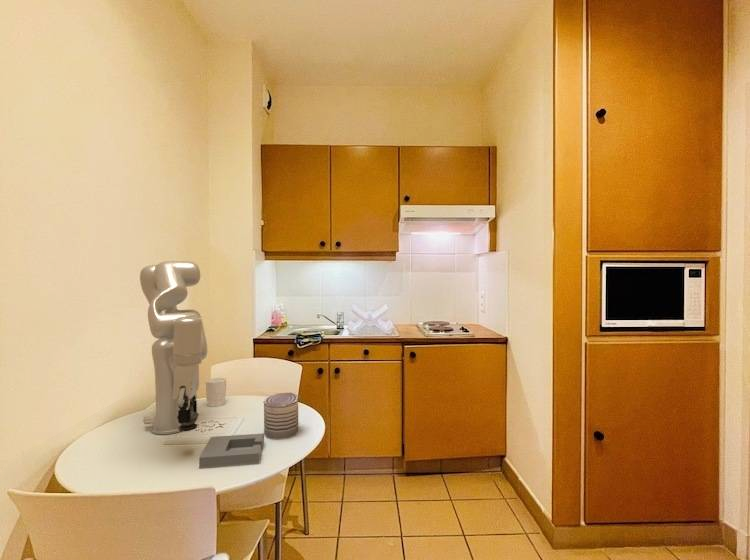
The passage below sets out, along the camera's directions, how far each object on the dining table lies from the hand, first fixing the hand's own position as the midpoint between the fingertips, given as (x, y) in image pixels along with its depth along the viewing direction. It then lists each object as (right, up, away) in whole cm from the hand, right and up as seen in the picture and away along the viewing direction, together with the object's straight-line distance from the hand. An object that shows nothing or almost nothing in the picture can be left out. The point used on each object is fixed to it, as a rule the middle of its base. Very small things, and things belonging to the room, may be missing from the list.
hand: (187, 417), depth 120 cm
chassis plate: (+14, -11, 0) cm, 18 cm away
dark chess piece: (0, -3, 0) cm, 3 cm away
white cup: (-9, -10, +44) cm, 46 cm away
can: (+24, -11, +16) cm, 31 cm away
